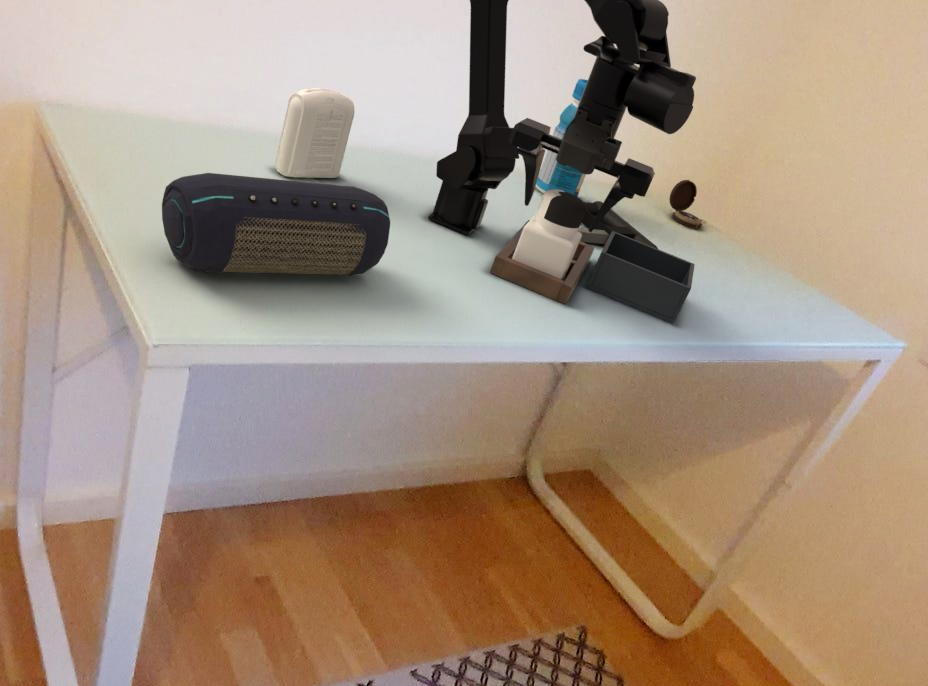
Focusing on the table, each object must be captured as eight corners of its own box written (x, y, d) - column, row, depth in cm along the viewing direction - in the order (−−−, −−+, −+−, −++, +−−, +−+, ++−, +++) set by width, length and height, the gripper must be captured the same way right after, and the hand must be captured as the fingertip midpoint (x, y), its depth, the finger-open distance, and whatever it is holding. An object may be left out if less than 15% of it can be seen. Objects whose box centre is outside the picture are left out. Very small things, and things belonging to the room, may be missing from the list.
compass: (684, 228, 165) (701, 192, 161) (660, 211, 171) (676, 176, 167) (713, 232, 169) (730, 198, 165) (689, 215, 175) (705, 182, 171)
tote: (585, 287, 120) (601, 252, 118) (597, 263, 131) (612, 230, 128) (673, 324, 119) (691, 288, 116) (678, 297, 129) (694, 263, 127)
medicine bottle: (564, 279, 121) (596, 200, 115) (554, 294, 114) (588, 211, 108) (518, 259, 121) (548, 180, 115) (506, 273, 115) (537, 190, 109)
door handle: (588, 242, 130) (670, 249, 137) (531, 191, 145) (608, 199, 152) (581, 262, 132) (662, 268, 139) (525, 209, 146) (602, 217, 153)
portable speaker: (177, 289, 84) (192, 194, 79) (147, 243, 91) (159, 153, 86) (390, 291, 99) (414, 212, 94) (352, 252, 106) (372, 175, 101)
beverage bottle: (524, 183, 156) (564, 74, 146) (552, 184, 162) (592, 78, 152) (557, 203, 152) (600, 92, 142) (585, 203, 158) (628, 96, 148)
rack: (489, 272, 114) (495, 256, 113) (522, 234, 132) (528, 219, 130) (565, 304, 113) (572, 288, 111) (588, 261, 130) (595, 247, 129)
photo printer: (325, 168, 129) (344, 86, 123) (342, 180, 127) (363, 97, 121) (269, 167, 122) (286, 81, 116) (286, 180, 120) (305, 92, 114)
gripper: (521, 81, 100) (478, 204, 108) (669, 139, 98) (615, 261, 106) (539, 73, 109) (499, 187, 117) (675, 126, 107) (625, 238, 115)
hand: (558, 218), depth 114 cm, fingers open, 9 cm apart
